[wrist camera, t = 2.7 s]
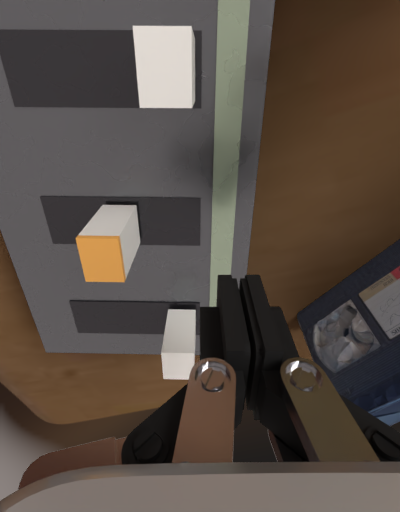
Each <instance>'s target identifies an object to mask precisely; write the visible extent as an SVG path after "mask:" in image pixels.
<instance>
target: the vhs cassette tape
mask: <svg viewBox="0 0 400 512" xmlns="http://www.w3.org/2000/svg"><path fill="white" fill-rule="evenodd" d="M297 319H298V323H299V325H300V328H301V330H302V331H303V335H304V339H305V341H306V343H307V346H308V348H309V351H310V353H311V356H312V359H313V362H315V363H316V364H317V365H319V366H320V367H321V368H322V369H323V370H324V372H325V373H326V375H327V376H328V378H329V379H330V381H331V383H332V384H333V386H334V387H335V389H336V391H337V392H338V393H339V394H340V395H342V396H343V397H345V398H346V399H348V400H350V401H351V402H353V403H354V404H356V405H357V406H359V407H360V408H362V409H364V410H365V411H367V412H368V413H370V414H371V415H373V416H375V417H376V418H378V419H379V420H381V421H382V422H384V423H386V424H387V425H389V426H391V425H393V424H395V423H397V422H400V239H399V240H398V241H396V242H395V243H394V244H392V245H391V246H390V247H388V248H387V249H386V250H384V251H383V252H381V253H380V254H379V255H377V256H376V257H374V258H373V259H372V260H370V261H369V262H367V263H366V264H365V265H363V266H362V267H361V268H359V269H358V270H356V271H355V272H354V273H352V274H351V275H349V276H348V277H347V278H345V279H344V280H343V281H341V282H340V283H339V284H337V285H336V286H334V287H333V288H332V289H330V290H329V291H328V292H326V293H325V294H323V295H322V296H321V297H319V298H318V299H317V300H315V301H314V302H312V303H311V304H310V305H308V306H307V307H306V308H304V309H303V310H301V311H300V312H299V313H298V314H297Z"/></svg>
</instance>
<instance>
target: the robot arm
mask: <svg viewBox="0 0 400 512" xmlns="http://www.w3.org/2000/svg"><path fill="white" fill-rule="evenodd" d="M245 398H246V404H247V409H248V410H253V415H254V420H260V423H262V424H263V425H264V426H265V427H267V428H268V435H269V439H270V441H271V444H272V447H273V450H274V453H275V456H276V458H277V462H246V463H245V462H242V463H241V462H240V463H233V440H234V430H235V428H236V427H237V426H238V425H239V424H240V423H241V418H242V411H243V409H244V402H245ZM0 512H400V433H399V432H397V431H396V430H395V429H393V428H392V427H390V426H389V425H387V424H386V423H384V422H382V421H381V420H379V419H378V418H376V417H375V416H373V415H371V414H370V413H368V412H367V411H365V410H364V409H362V408H360V407H359V406H357V405H356V404H354V403H353V402H351V401H350V400H348V399H346V398H345V397H343V396H342V395H340V394H339V393H338V392H337V391H336V389H335V387H334V386H333V384H332V383H331V381H330V379H329V378H328V376H327V375H326V373H325V372H324V370H323V369H322V368H321V367H320V366H319V365H317V364H316V363H315V362H313V361H311V360H309V359H305V358H301V357H299V355H298V352H297V350H296V347H295V344H294V341H293V339H292V336H291V333H290V331H289V328H288V325H287V323H286V320H285V317H284V315H283V312H282V310H281V308H280V307H270V306H269V303H268V300H267V297H266V294H265V291H264V287H263V284H262V281H261V278H260V276H259V275H245V278H240V284H239V287H238V283H237V278H232V276H231V275H218V279H217V302H216V307H200V361H198V362H197V363H196V364H195V365H194V366H193V367H192V369H191V372H190V375H189V380H188V384H187V385H185V386H184V387H183V388H182V389H181V390H180V391H178V392H177V393H176V394H175V395H174V396H173V397H171V398H170V399H169V400H168V401H167V402H166V403H164V404H163V405H162V406H161V407H160V408H159V409H157V410H156V411H155V412H154V413H153V414H152V415H150V416H149V417H148V418H147V419H146V420H145V421H143V422H142V423H141V424H140V425H139V426H137V427H136V428H135V429H134V430H133V431H132V432H131V433H130V434H129V435H128V436H127V437H125V438H121V439H115V437H111V438H107V439H102V440H99V441H95V442H90V443H86V444H82V445H78V446H74V447H70V448H66V449H62V450H58V451H54V452H50V453H47V454H45V455H42V456H40V457H39V458H38V459H36V460H35V461H34V462H32V463H31V464H30V465H29V467H28V468H27V469H26V471H25V472H24V474H23V476H22V479H21V481H20V483H19V488H18V490H17V491H16V492H14V493H12V494H10V495H9V496H7V497H6V498H4V499H2V500H1V501H0Z"/></svg>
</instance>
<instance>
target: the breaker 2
mask: <svg viewBox="0 0 400 512" xmlns="http://www.w3.org/2000/svg"><path fill="white" fill-rule="evenodd" d="M195 340H196V310H183V309H168V314H167V320H166V326H165V332H164V338H163V344H162V351H161V356H162V368H163V379H189V375H190V372H191V369H192V367H193V366H194V365H195Z"/></svg>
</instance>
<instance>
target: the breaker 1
mask: <svg viewBox="0 0 400 512" xmlns="http://www.w3.org/2000/svg"><path fill="white" fill-rule="evenodd" d="M133 37H134V48H135V60H136V71H137V83H138V94H139V105H140V108H192V107H193V105H194V103H195V37H194V33H193V30H192V26H133Z"/></svg>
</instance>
